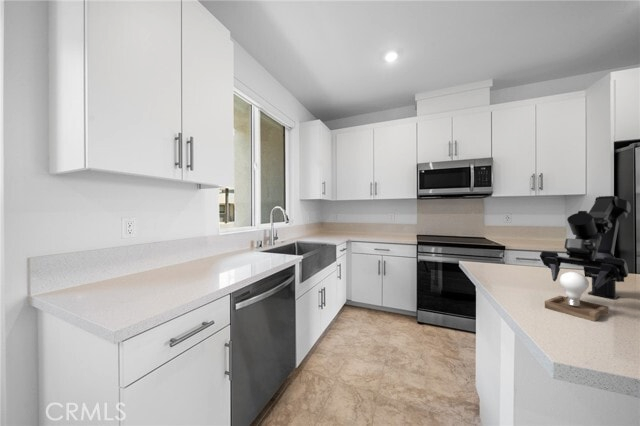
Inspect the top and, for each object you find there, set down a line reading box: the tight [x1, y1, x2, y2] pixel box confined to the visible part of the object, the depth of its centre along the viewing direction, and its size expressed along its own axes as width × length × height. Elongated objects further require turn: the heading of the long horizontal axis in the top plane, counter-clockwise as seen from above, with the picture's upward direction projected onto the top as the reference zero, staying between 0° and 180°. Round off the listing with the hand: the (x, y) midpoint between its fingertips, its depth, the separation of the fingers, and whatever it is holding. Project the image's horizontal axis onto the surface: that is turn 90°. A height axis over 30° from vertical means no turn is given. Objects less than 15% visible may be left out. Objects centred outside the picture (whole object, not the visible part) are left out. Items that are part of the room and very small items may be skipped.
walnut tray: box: [544, 295, 610, 322], centre depth 75 cm, size 11×11×2 cm
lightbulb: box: [559, 271, 590, 307], centre depth 76 cm, size 6×6×11 cm
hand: (573, 284), depth 75 cm, fingers open, 9 cm apart
